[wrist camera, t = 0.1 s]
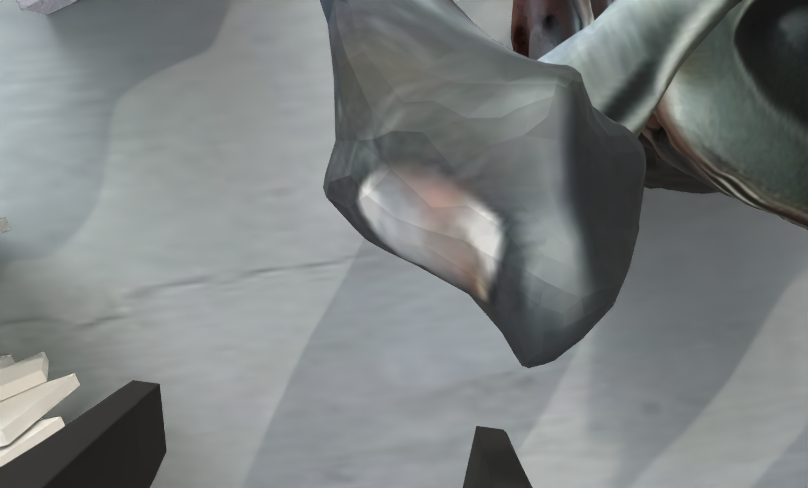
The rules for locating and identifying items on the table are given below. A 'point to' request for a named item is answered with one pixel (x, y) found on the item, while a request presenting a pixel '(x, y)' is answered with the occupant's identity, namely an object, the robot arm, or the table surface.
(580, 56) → the coffee grinder
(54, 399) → the spiral staircase
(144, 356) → the table surface
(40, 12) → the dinosaur figurine
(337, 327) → the table surface
